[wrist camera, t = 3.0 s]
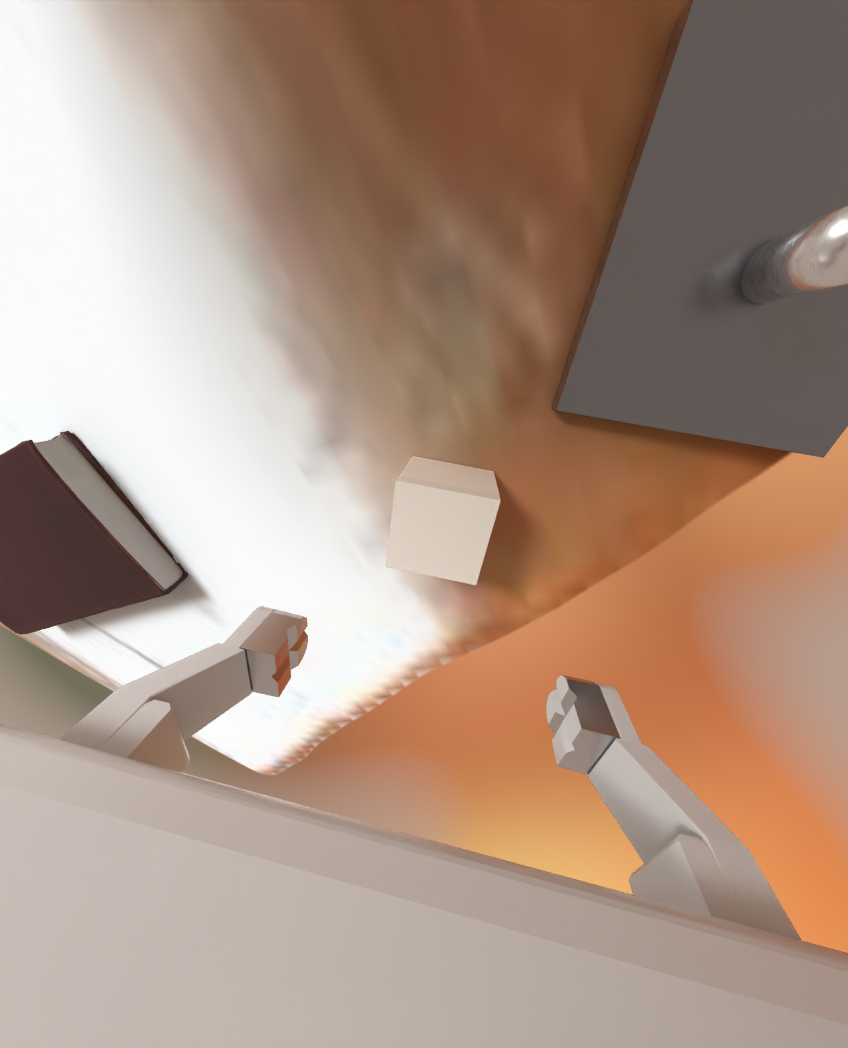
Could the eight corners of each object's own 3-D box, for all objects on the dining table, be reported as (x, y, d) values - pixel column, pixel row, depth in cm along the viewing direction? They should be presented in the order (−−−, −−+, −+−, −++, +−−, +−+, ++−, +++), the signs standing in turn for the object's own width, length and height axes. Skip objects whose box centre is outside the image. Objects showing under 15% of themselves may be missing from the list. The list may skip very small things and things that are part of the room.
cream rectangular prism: (402, 527, 23) (385, 566, 18) (412, 455, 20) (395, 480, 16) (474, 541, 22) (475, 585, 18) (493, 471, 20) (500, 500, 15)
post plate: (551, 408, 18) (575, 418, 14) (678, 16, 11) (794, -182, 7) (801, 452, 17) (905, 477, 13) (1085, 61, 11) (1464, -132, 7)
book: (196, 575, 29) (161, 601, 25) (55, 616, 34) (12, 642, 31) (81, 427, 23) (18, 436, 20) (-62, 505, 29) (-129, 522, 26)
